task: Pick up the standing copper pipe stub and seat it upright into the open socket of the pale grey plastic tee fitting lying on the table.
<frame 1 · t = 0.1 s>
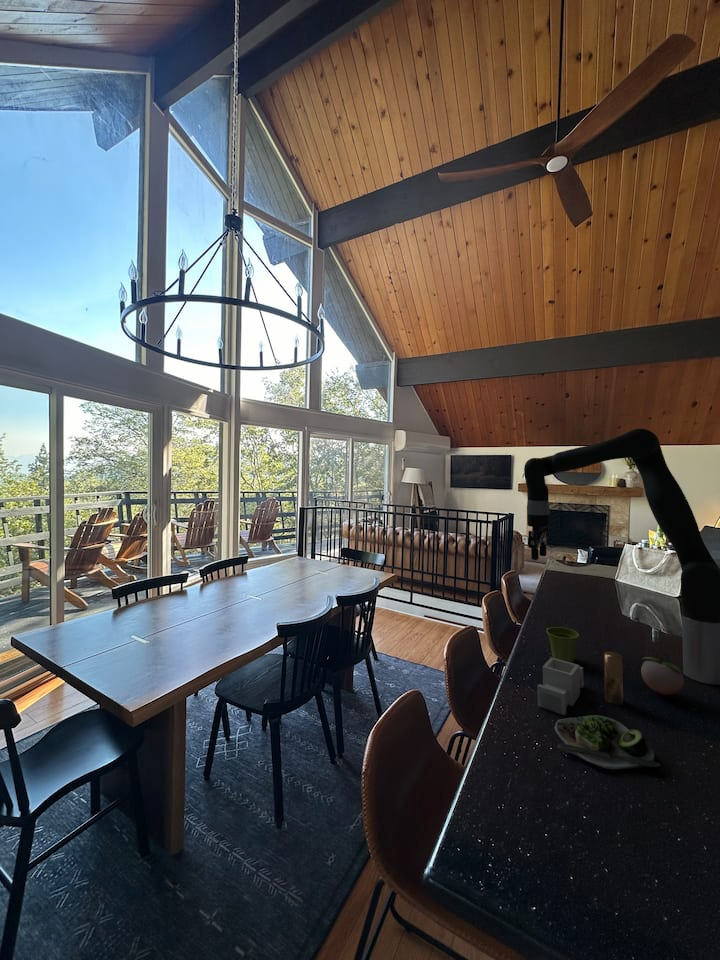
hand: (539, 557, 145), 29 cm above the counter, fingers open, 8 cm apart
salad plate: (605, 747, 88), on the counter
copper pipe: (613, 700, 105), on the counter
decorative fruit: (661, 695, 107), on the counter
tee fitting: (561, 695, 107), on the counter
plant pot: (562, 659, 129), on the counter
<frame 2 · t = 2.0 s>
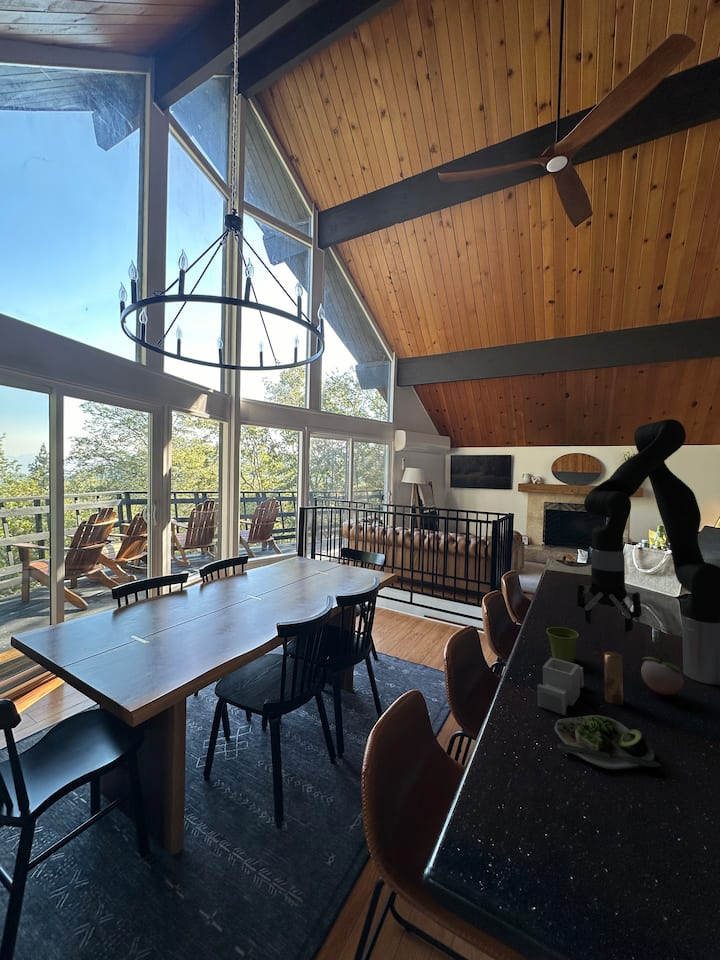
hand: (608, 627, 106), 19 cm above the counter, fingers open, 8 cm apart
nothing on the counter moved.
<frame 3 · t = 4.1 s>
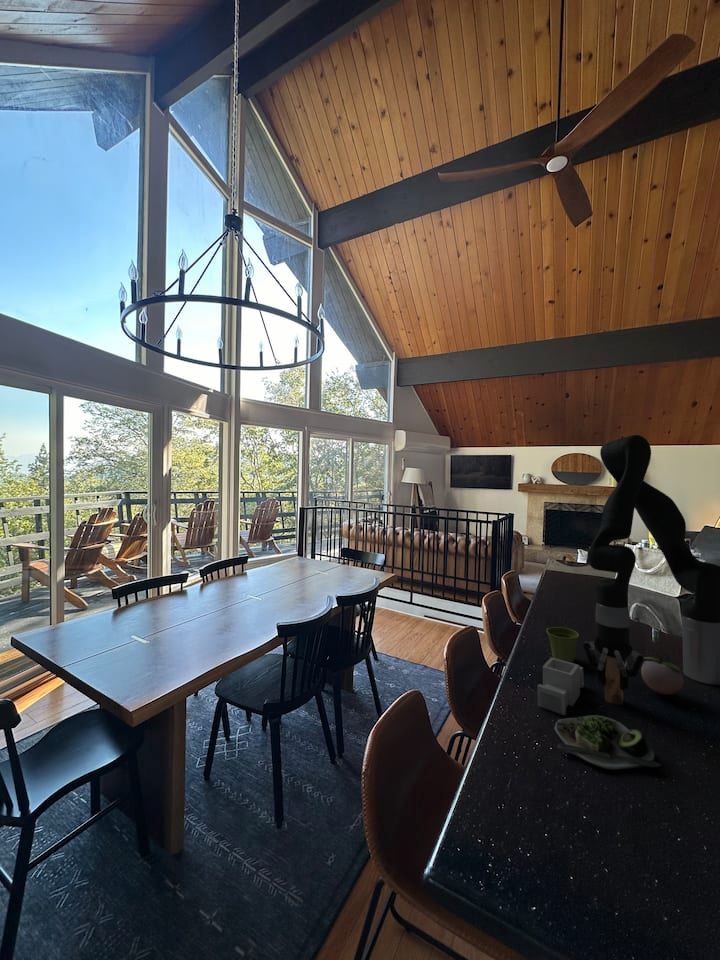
hand: (613, 686, 105), 4 cm above the counter, fingers closed on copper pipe, 4 cm apart
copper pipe: (613, 700, 105), on the counter, touching gripper
everything else where it was.
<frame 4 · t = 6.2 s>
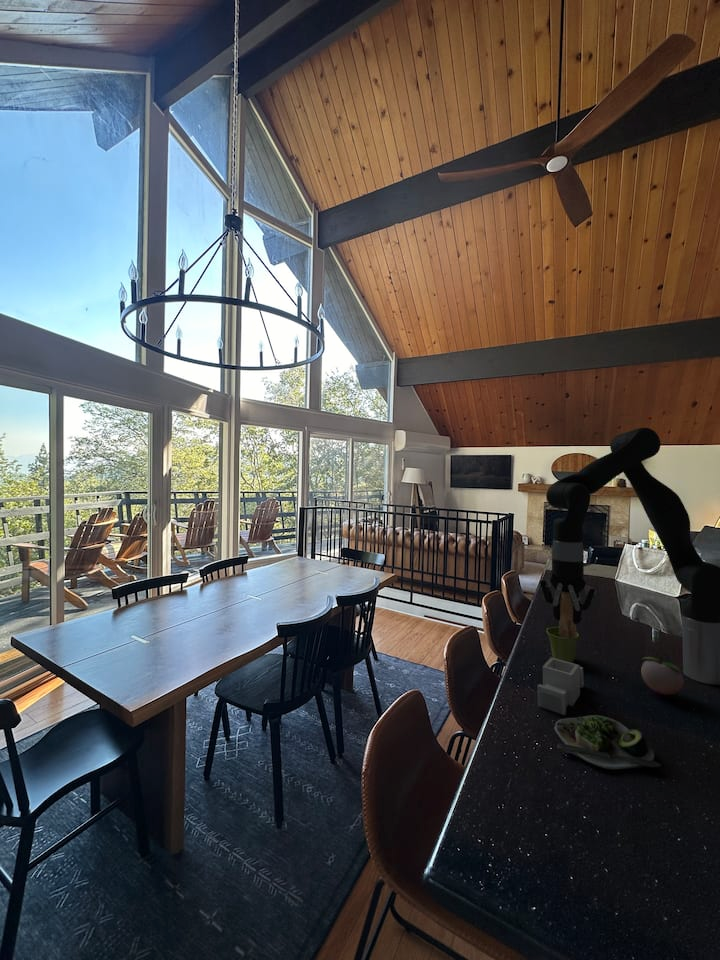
hand: (567, 621, 107), 20 cm above the counter, fingers closed on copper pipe, 4 cm apart
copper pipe: (567, 635, 107), point 16 cm above the counter, touching gripper
everything else where it was.
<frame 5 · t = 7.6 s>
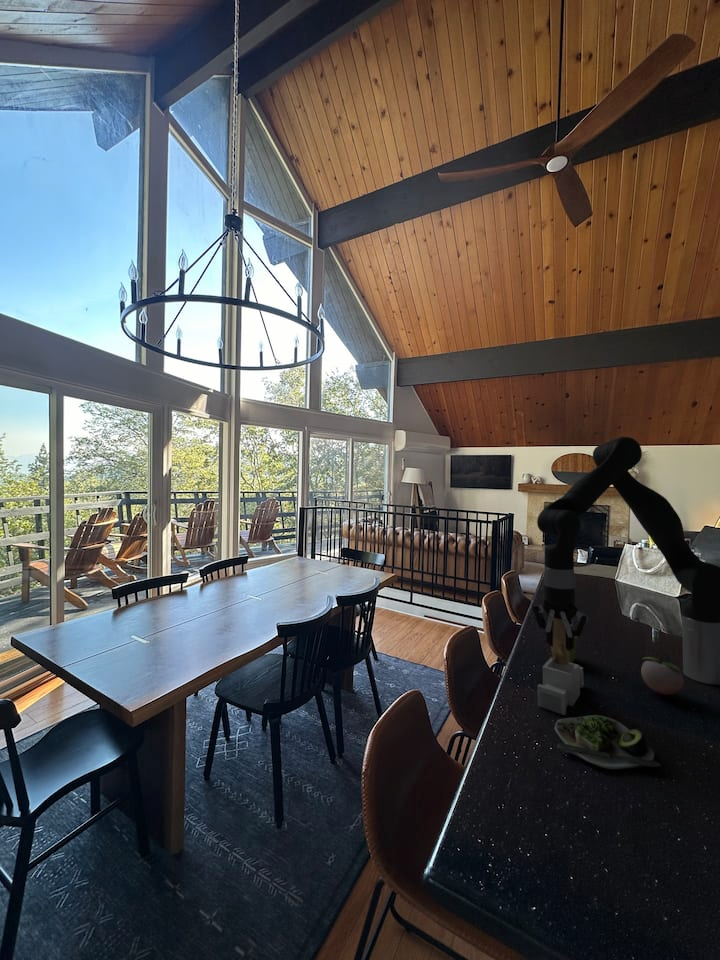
hand: (560, 647, 108), 13 cm above the counter, fingers closed on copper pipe, 4 cm apart
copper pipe: (560, 661, 108), point 9 cm above the counter, touching gripper
everything else where it was.
when the fingers open (9 cm above the counter, at t = 8.6 s): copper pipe drops 2 cm, resting on tee fitting.
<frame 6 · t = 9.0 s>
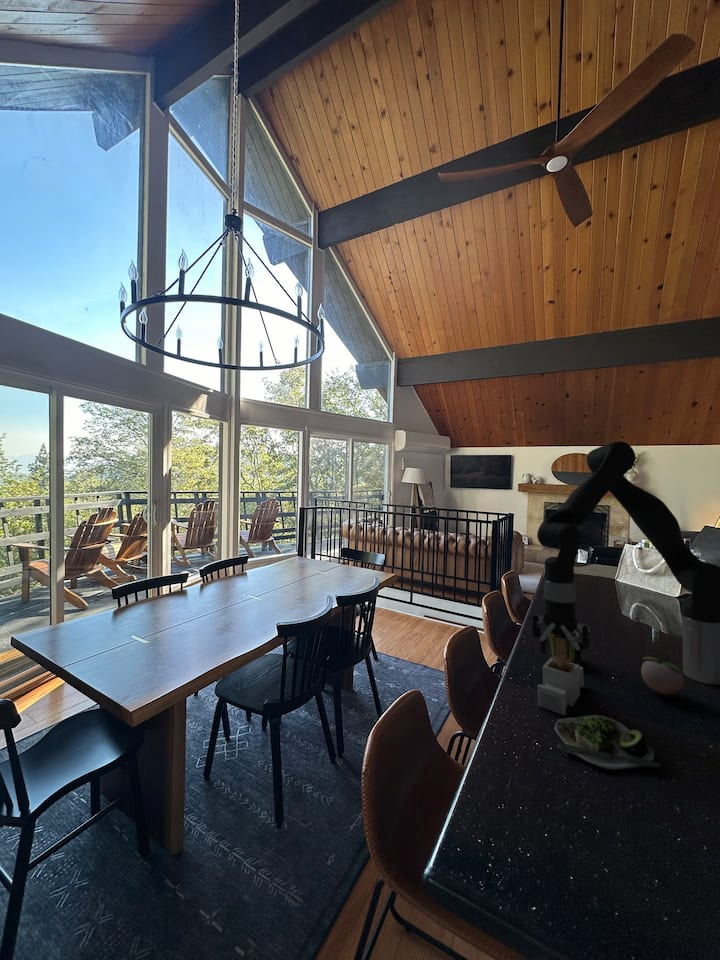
hand: (560, 658, 107), 10 cm above the counter, fingers open, 7 cm apart
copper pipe: (561, 680, 107), point 4 cm above the counter, touching tee fitting
everything else where it was.
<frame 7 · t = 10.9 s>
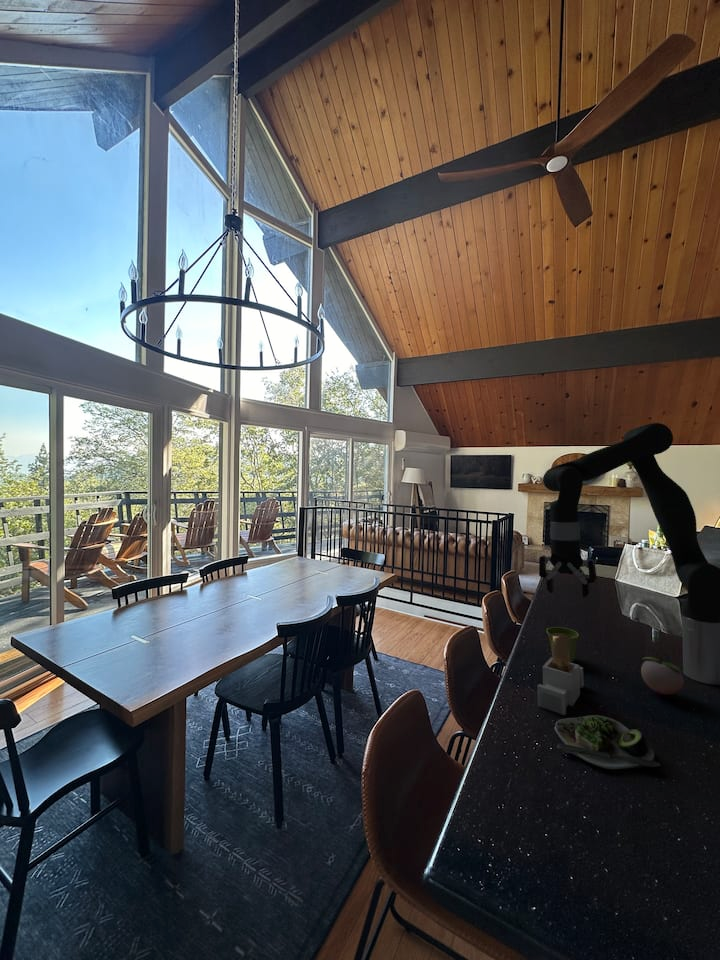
hand: (567, 594, 113), 25 cm above the counter, fingers open, 8 cm apart
nothing on the counter moved.
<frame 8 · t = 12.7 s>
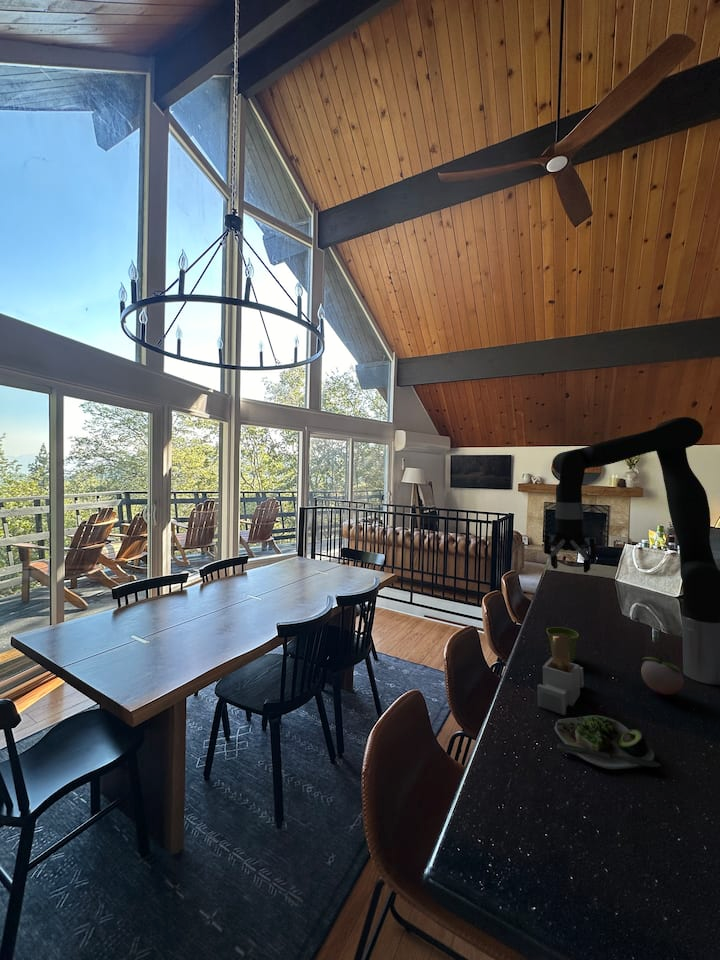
hand: (570, 570, 122), 30 cm above the counter, fingers open, 8 cm apart
nothing on the counter moved.
at the end: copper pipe 0.1 cm off-centre on the tee fitting, point 4.0 cm above the tee fitting's base; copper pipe tilted 0°; the gripper is holding nothing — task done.
